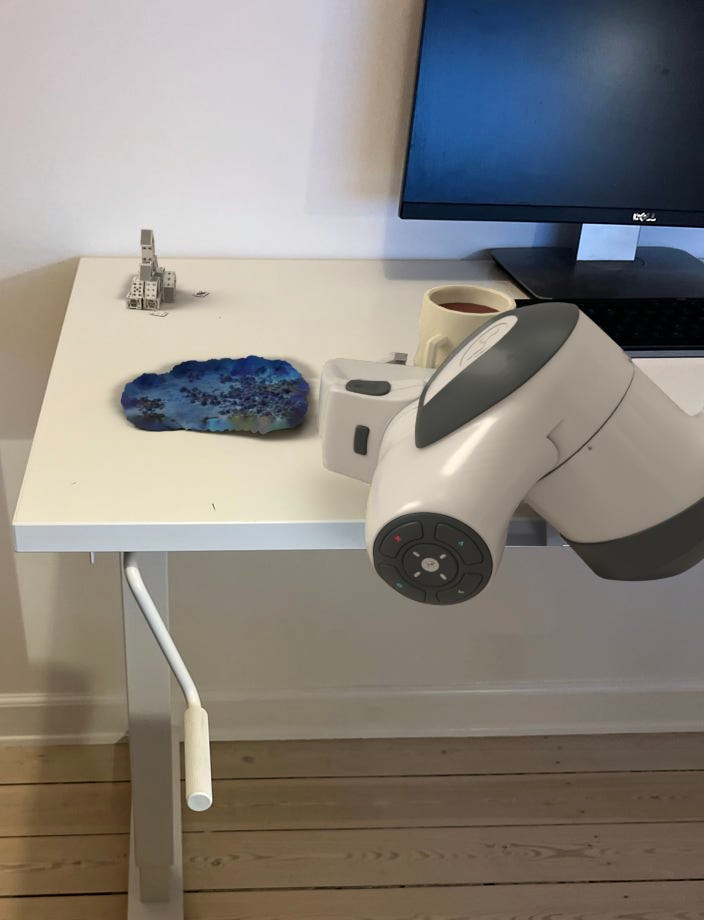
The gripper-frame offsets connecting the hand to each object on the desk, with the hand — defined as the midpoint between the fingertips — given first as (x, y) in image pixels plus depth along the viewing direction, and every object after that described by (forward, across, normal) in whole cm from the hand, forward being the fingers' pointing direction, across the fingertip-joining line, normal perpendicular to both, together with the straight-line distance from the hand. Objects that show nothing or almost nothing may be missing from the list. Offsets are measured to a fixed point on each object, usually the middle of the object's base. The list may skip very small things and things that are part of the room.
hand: (456, 367), depth 80 cm
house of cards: (+30, +33, +8) cm, 45 cm away
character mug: (0, 0, +8) cm, 8 cm away
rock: (+5, +21, +8) cm, 23 cm away
